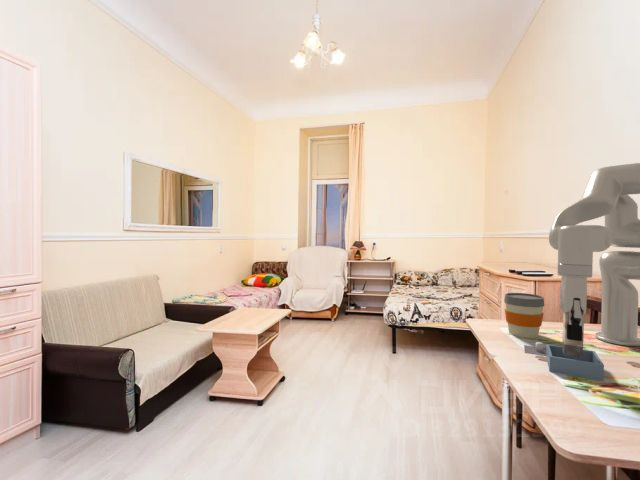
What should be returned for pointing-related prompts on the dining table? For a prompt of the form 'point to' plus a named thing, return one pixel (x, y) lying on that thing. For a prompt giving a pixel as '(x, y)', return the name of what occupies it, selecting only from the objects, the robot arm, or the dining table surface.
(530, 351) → the stud plate
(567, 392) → the dining table surface
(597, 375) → the bin
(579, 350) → the strut
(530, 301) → the reusable coffee cup
